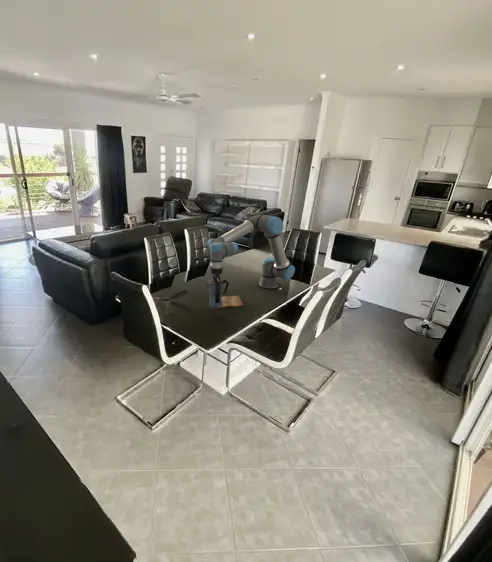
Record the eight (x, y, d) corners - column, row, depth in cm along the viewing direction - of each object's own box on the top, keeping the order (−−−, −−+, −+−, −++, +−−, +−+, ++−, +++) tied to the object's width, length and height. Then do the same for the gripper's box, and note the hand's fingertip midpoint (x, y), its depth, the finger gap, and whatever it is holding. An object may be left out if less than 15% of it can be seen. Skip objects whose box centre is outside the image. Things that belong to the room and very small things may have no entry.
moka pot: (204, 303, 215) (203, 275, 208) (227, 301, 216) (227, 274, 209) (205, 309, 206) (205, 281, 199) (229, 308, 207) (229, 279, 200)
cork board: (238, 297, 241) (238, 295, 240) (243, 306, 226) (243, 304, 225) (214, 298, 239) (214, 296, 238) (218, 307, 224) (218, 306, 224)
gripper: (208, 262, 210) (208, 293, 219) (212, 273, 191) (213, 307, 200) (219, 261, 211) (219, 293, 219) (225, 272, 192) (225, 306, 200)
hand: (216, 299), depth 210 cm, fingers closed on moka pot, 8 cm apart
